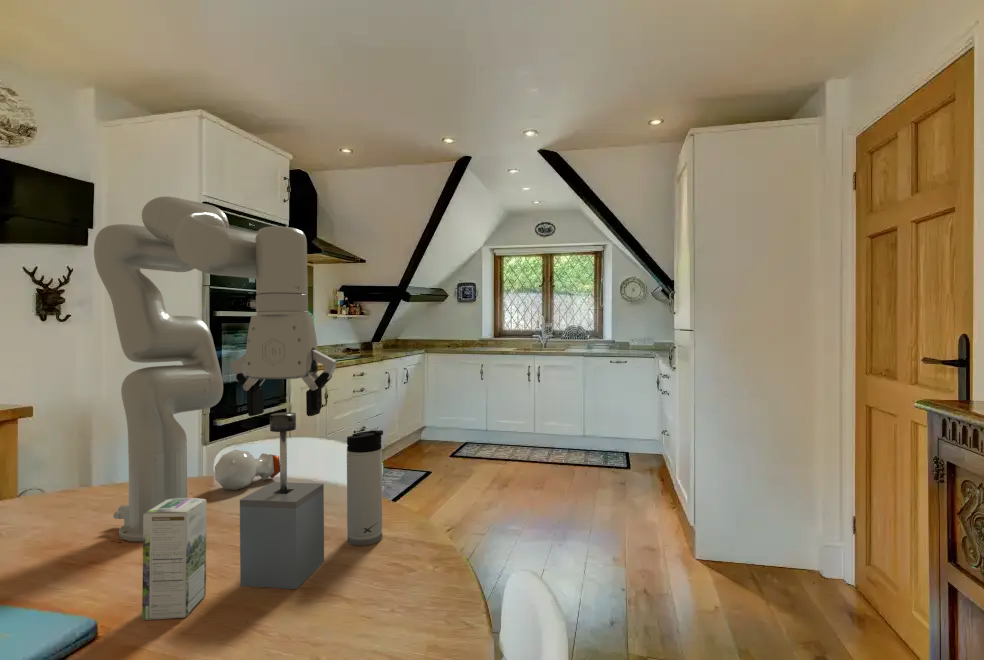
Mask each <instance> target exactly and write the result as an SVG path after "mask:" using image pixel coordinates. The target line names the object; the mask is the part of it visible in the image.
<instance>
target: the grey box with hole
mask: <svg viewBox="0 0 984 660" xmlns="http://www.w3.org/2000/svg"><path fill="white" fill-rule="evenodd" d="M324 485H325V484H324V483H316V482H313V483H312V482H289V481H287V494H280V481H272V482H270V483H269V484H266V485H264V486H263V487H261V488H258V489H257V490H255V491H254V492H251V493H250V494H248V495H246V496H243V497H242V498H240V499H239V556H240V557H239V562H240V564H239V566H240V567H239V569H240V571H239V572H240V573H239V574H240V575H239V577H240V587H255V588H270V589H286V590H297V589H298V588H300V587H301V585H303V583H304V582H306V580H307V579H309V577H311V576H312V575H313V573H315V572H316V571H317V570H318V569H319V568H320V567H321V566H322V565H323V564H324V563H325V514H324V512H325V505H324V503H325V495H324V490H325V488H324Z"/></svg>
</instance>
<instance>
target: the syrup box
mask: <svg viewBox="0 0 984 660" xmlns="http://www.w3.org/2000/svg"><path fill="white" fill-rule="evenodd" d="M206 574H207V499H205V498H198V497H197V498H196V497H187V498H175V499H169V500H166V501H164V502H162V503H161V504H159V505H157V506H156V507H154V508H152V509H151V510H149V511H147V512H146V513H144V514H143V541H142V598H141V606H142V609H141V614H142V615H141V619H142V620H144V621H148V620H149V621H150V620H151V621H152V620H167V619H168V620H169V619H180V618H187V617H188V616H189V614H191V612H192V611H194V609H195V608H196V607H197V606H198V605H199V603H201V601H202V600H203V599H204V598H205V597H206V595H207V594H206V593H207V592H206V591H207V590H206V589H207V587H206V586H207V575H206Z"/></svg>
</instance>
